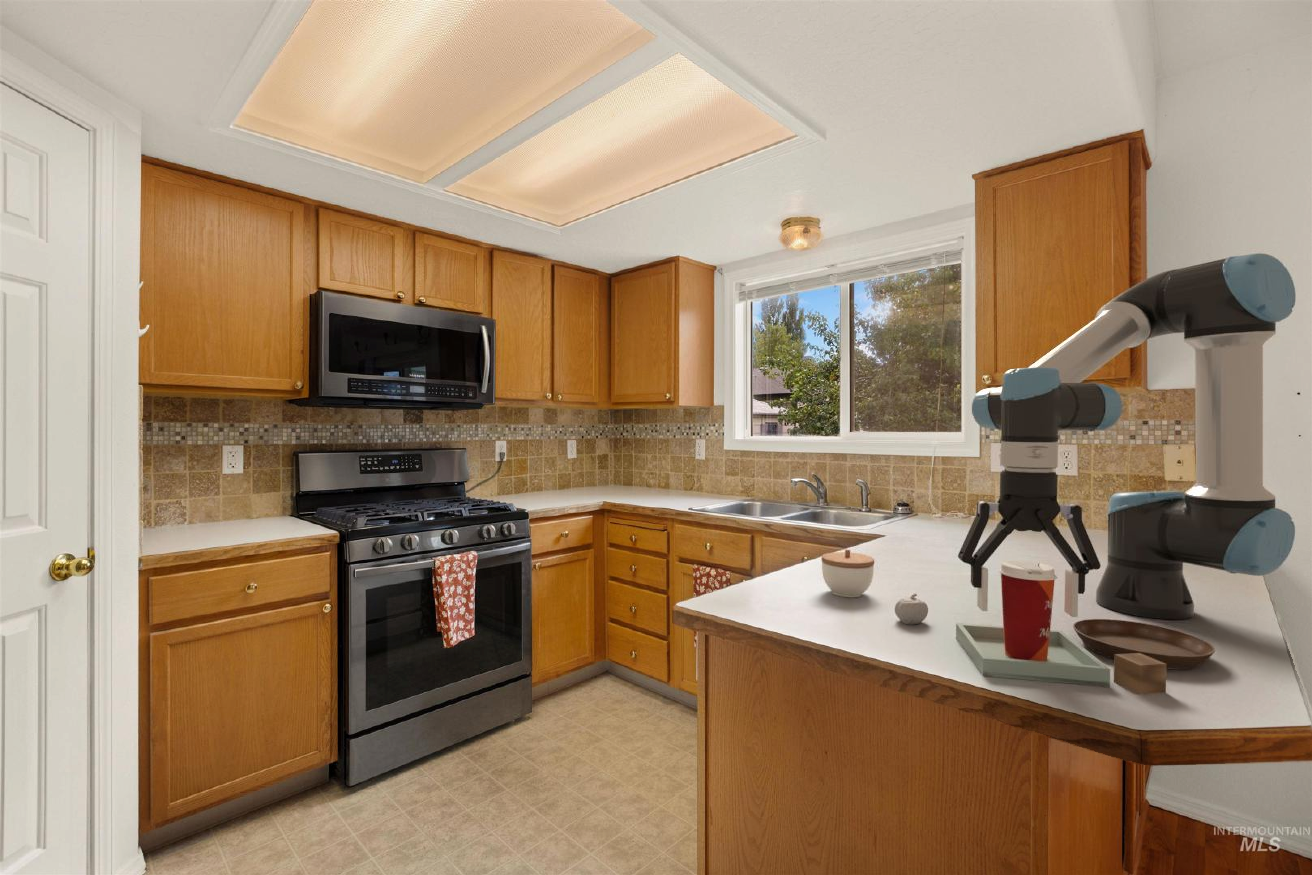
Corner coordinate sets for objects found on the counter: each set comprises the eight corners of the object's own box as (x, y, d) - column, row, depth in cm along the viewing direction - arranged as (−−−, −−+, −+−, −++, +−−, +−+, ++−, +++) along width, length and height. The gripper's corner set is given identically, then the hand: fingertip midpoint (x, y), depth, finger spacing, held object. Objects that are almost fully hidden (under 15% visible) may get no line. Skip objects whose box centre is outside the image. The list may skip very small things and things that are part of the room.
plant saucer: (1089, 627, 111) (1090, 610, 111) (1222, 655, 98) (1223, 636, 97) (1058, 651, 99) (1058, 632, 99) (1204, 687, 86) (1205, 665, 86)
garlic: (914, 616, 116) (914, 589, 116) (935, 625, 111) (935, 596, 111) (887, 619, 114) (887, 591, 114) (907, 628, 109) (908, 599, 109)
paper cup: (1064, 667, 90) (1066, 572, 90) (1007, 663, 92) (1009, 569, 92) (1042, 648, 98) (1044, 560, 98) (989, 644, 100) (991, 558, 99)
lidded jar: (879, 591, 133) (879, 548, 133) (866, 603, 124) (867, 557, 124) (829, 584, 139) (830, 542, 139) (814, 595, 130) (814, 551, 130)
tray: (1062, 645, 101) (1062, 630, 101) (1109, 686, 85) (1110, 668, 85) (955, 637, 105) (956, 623, 104) (982, 675, 89) (983, 658, 89)
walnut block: (1139, 680, 88) (1139, 652, 88) (1165, 693, 84) (1166, 663, 84) (1113, 682, 87) (1114, 654, 87) (1139, 694, 83) (1140, 665, 83)
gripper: (949, 470, 93) (947, 612, 94) (1131, 473, 88) (1127, 625, 88) (938, 466, 101) (936, 599, 101) (1105, 469, 95) (1103, 609, 96)
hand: (1025, 611), depth 95 cm, fingers open, 11 cm apart
